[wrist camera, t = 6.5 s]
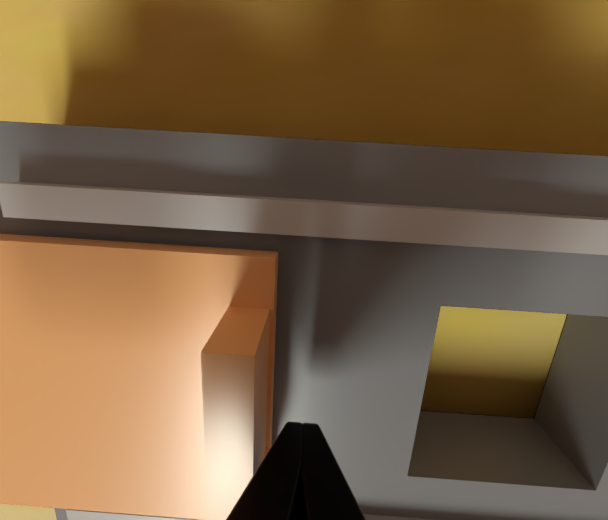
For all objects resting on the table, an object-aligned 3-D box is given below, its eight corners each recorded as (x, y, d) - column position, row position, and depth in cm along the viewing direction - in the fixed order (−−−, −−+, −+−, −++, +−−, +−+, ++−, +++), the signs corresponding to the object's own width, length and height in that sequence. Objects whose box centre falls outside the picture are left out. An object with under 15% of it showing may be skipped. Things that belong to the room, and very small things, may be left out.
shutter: (278, 251, 8) (261, 290, 5) (269, 504, 10) (255, 610, 8) (-59, 229, 8) (-224, 258, 6) (11, 484, 11) (-82, 582, 8)
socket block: (744, 171, 10) (966, 174, 7) (601, 498, 14) (694, 606, 11) (61, 131, 10) (-62, 115, 7) (111, 461, 14) (47, 554, 11)
